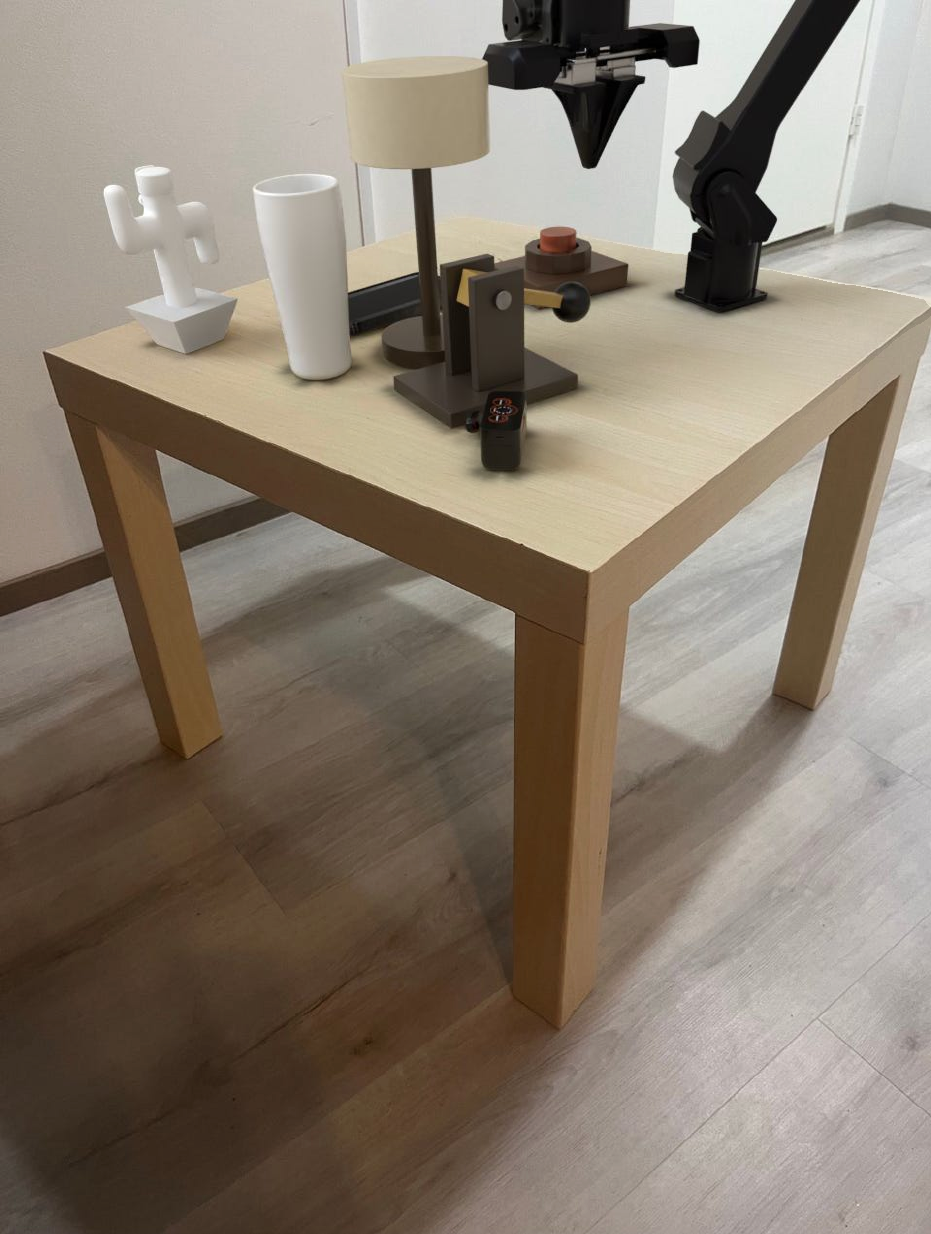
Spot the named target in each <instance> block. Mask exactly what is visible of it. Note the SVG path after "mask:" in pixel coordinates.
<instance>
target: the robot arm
mask: <svg viewBox="0 0 931 1234" xmlns="http://www.w3.org/2000/svg"><path fill="white" fill-rule="evenodd" d="M860 1H861V0H794V2H793V3H792V5H791V6H790V8H789V9H788V11H787V13H786V15H785V16H784V17H783V19H782V21H781V23H780V24H779V25H778V28H777V29H776V31H775V32H774V34H773V36H772V37H771V39H770V41H769V42H768V44H767V46H766V47H765V49H764V51H763V52H762V54H761V55H760V57H759V59H758V60H757V62H756V64H755V65H754V67H753V68H752V70H751V71H750V73H749V75H748V76H747V78H746V80H745V82H744V83H743V85H742V87H740V89H739V91H738V93H737V95H736V96H735V98H734V99H733V100H732V101H731V102H730V104H729V105H727V106H726V107H725V108H724V109H723V110H722V111H720V112H719V113H718V114H717V115H716V116H713V115H712V114H710V113H709V112H707V111H705V110H701V111H700V112H699V114H697V117H696V119H695V121H694V122H693V125H692V128H691V130H690V133H689V135H688V137H687V138H686V139H685V141H684V142H683V143H682V144H681V145H680V146H679V147H678V148H677V149H676V150H674V155H676V156H677V157H678V160H677V161H676V164H675V166H674V168H673V172H672V180H673V182H672V183H673V189H674V192H675V194H676V196H677V197H678V199H679V201H681V202H682V203H683V204H684V205H685V206H686V207H687V208H688V209H689V212H690V218H691V220H692V222H694V223H696V224H697V225H698V226H699V227H698V228H697V230H696V231H695V232H692V233H691V242H690V249H689V250H690V251H688V252H687V258H686V269H685V279H684V286H682V287H679V288H675V289H674V296H676V297H677V298H680V299H684V300H686V301H689V302H692V303H694V304H697V305H699V306H702V307H705V308H708V309H709V310H713V311H716V312H725V311H728V310H729V311H730V310H732V309H737V308H739V307H743V306H746V305H749V304H752V303H756V302H758V301H762V300H765V299H768V294H769V292H767V291H764V290H762V289H759V288H757V284H758V276H759V271H760V264H761V258H762V257H761V256H762V249H763V243H766V242H768V241H769V239H770V237H771V235H772V233H773V231H774V228H775V226H776V224H777V222H778V218H777V217H778V216H777V215H775V214H774V213H773V211H772V210H771V208H769V207H768V205H767V204H766V203H765V202H764V201H763V200H762V198H761V197H760V196H759V195H758V194H757V191H758V189H759V186H760V184H761V183H762V181H763V178H764V176H765V174H766V172H767V169H768V166H769V163H770V159H771V155H772V151H773V148H774V145H775V140H776V137H777V136H776V135H777V133H778V130H779V128H780V126H781V124H782V123H783V121H784V119H785V118H786V116H787V115H788V113H789V112H790V110H791V108H792V107H793V105H794V103H795V102H796V101H797V99H798V98H799V96H800V94H801V93H802V92H803V90H804V89H805V87H806V85H807V84H808V83H809V81H810V80H811V78H812V77H813V75H814V73H815V72H816V70H817V68H818V67H819V65H820V64H821V62H822V60H824V57H825V56H826V54H827V53H828V51H829V49H830V48H831V47H832V45H833V44H834V42H835V40H836V39H837V37H838V36H839V34H840V33H841V31H842V30H843V28H844V26H845V25H846V23H847V22H848V20H849V18H850V17H851V16H852V14H853V12H855V9H856V8H857V6H858V4H859V3H860ZM501 11H502V13H501V23H502V24H501V25H502V28H503V34H504V37H505V39H506V40H507V41H504V42H503V41H502V42H496V43H488V44H487V47H486V50H485V51H484V54H483V55H482V58H481V59H482V60H485V61H487V62H488V86H494V87H499V88H503V89H508V90H514V91H526V90H528V91H529V90H534V89H541V88H543V89H547V90H550V91H552V93H553V94H554V95H555V96H556V98H557V99H558V101H559V103H560V104H561V106H562V108H563V111H564V114H565V115H566V118H567V121H568V124H569V127H570V131H571V134H572V137H573V141H574V143H575V147H576V151H577V154H578V157H579V160H580V164H581V167H582V168H583V169H586V170H592V169H596V168H598V165H599V162H600V160H601V159H602V155H603V154H604V152H605V150H606V147H607V145H608V143H609V141H610V139H611V137H612V134H613V133H614V130H615V129H616V126H617V124H618V122H619V120H620V118H621V116H622V114H623V112H624V111H625V109H626V107H627V105H628V104H629V103H630V100H631V98H632V96H633V95H634V94H635V91H636V89H637V88H638V87H639V86H640V85H644V84H645V83H646V76H644V75H639V74H636V70H637V69H636V67H637V65H636V63H637V62H643V61H651V60H660V61H664V62H665V63H666V65H667V66H668V67H669V68H672V69H677V68H684V67H691V66H697V65H698V64H699V56H700V55H699V54H700V45H701V40H700V37H699V35H698V32H697V31H696V28H695V27H694V26H693V25H685V24H673V23H663V22H657V23H650V24H641V25H635V26H633V25H632V26H630V13H631V0H502V10H501Z"/></svg>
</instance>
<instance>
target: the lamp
mask: <svg viewBox="0 0 931 1234" xmlns="http://www.w3.org/2000/svg"><path fill="white" fill-rule="evenodd" d="M341 80H342V88H343V99H344V109H345V117H346V126H347V137H348V145H349V155H350V160H351V162H353V163H354V164H357V165H360V166H363V167H368V168H376V169H383V170H385V169H387V170H411V182H412V183H411V184H412V196H413V197H412V198H413V211H414V225H415V239H416V253H417V265H418V266H417V269H418V272H419V283H420V297H421V311H422V314H421V315H416V316H413V317H410V318H407V319H404V320H401V321H398V322H395V323H392V324H389V325H387V327H385V328H384V330H383V331H382V332H381V335H380V337H381V338H380V339H381V349H382V356H383V358H384V359H385V360H386V361H387V362H389V363H390V364H392V365H395V366H397V367H400V368H405V369H411V370H417V369H420V368H424V367H428V366H431V365H435V364H438V363H442V362H445V349H444V332H443V314H441V307H440V304H439V287H438V275H439V274H438V273H439V272H438V256H437V255H438V254H437V239H436V223H435V222H436V221H435V206H434V204H435V203H434V187H433V172H432V171H433V170H432V169H435V168H443V167H450V166H451V167H452V166H457V165H461V164H462V165H463V164H466V163H471V162H474V161H477V160H480V159H482V158H484V157H485V156H487V155H488V154H489V153H490V151H491V141H490V140H491V137H490V136H491V133H490V132H491V131H490V97H489V96H490V93H489V85H488V62H487V61H485V60H482V58H479V57H471V56H470V57H469V56H459V55H458V56H457V55H455V56H454V55H453V56H452V55H426V56H409V57H395V58H385V59H377V60H372V61H371V60H370V61H364V62H359V63H355V64H351V65H348V66H345V67H344V68H342V69H341Z"/></svg>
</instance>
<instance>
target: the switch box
mask: <svg viewBox="0 0 931 1234" xmlns="http://www.w3.org/2000/svg"><path fill="white" fill-rule="evenodd" d="M592 247H593V246H592V245H591V243H590V241H588V240H585V239H582V238H580V237H576V249H575V250H570V251H566V252H549V251H543V250H541V249H540V238H536V239H532V240H530V241H529V242H528V243H526V244H525V245H524V255H523V256H519V257H514V258H510V259H507V260H502V261H498V262H494V267H495V271H497V270H501V269H505V268H509V267H513V266H519V267H521V268H524V288H526V289H533V290H540V291H547V292H555V290H556V289H557V288H558V287H559V286H560V285H561V284H563V283H566V282H578V283H580V284H582V285H583V286H584V287H585V288H586V289H587V290H588V292H589V295H590V296H594V295H596V294H601V293H604V292H608V291H613V290H616V289H620V288H624V287H627V286H628V279H629V278H628V277H629V276H628V275H629V263H628V262H624V261H622V260H619V259H617V258H613V257H610V256H608V255H605V254H602V253H599V252H597V251H594V250H592ZM531 306H532V307H535V308H537V309H539V310H541V309H545V308H546V307H545V306H537V305H531Z"/></svg>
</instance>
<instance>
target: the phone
mask: <svg viewBox="0 0 931 1234" xmlns="http://www.w3.org/2000/svg"><path fill="white" fill-rule="evenodd" d="M438 287H439V304H440V308H442V297H441V280H440V274H438ZM348 306H349V331H350V337H352V336H359V335H361V334H364V333H367V332H371V331H373V330H376V329H379V328H383V327H385V326H390V325H391V324H393V323H395V322H398V321H401V320H404V319H407V318H412V317H417V316H420V315H422V311H421V297H420V283H419V271H416V272H412V273H408V274H405V275H402V276H398V277H394V278H391V279H388V280H385V281H382V282H379V283H375V284H371V285H368V286H365V287H361V288H358V289H354V290H351V291H348Z"/></svg>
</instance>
